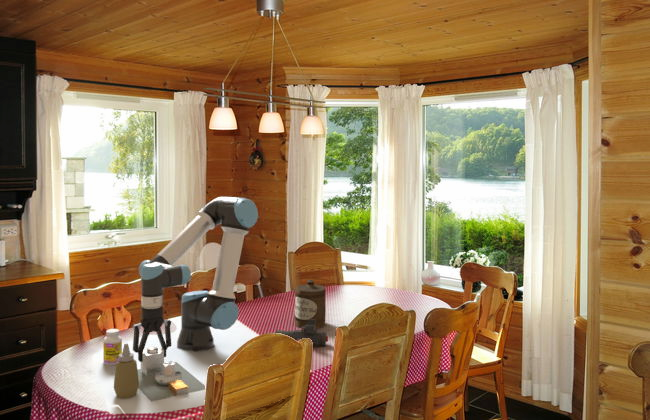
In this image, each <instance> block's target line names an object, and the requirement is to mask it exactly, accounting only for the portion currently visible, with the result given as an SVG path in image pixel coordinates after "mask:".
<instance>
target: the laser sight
mask: <svg viewBox="0 0 650 420" xmlns="http://www.w3.org/2000/svg"><path fill="white" fill-rule="evenodd" d="M316 329H317V328H316V320H312V319H307V325H306V327H304V326H302V328H301V329H294V330H281V329H280V330H279V329H277V330H275V334H276V333H282V334H285V335H288V336H290V337H292V338H294V339H295V340H297V341H299V340H300V339H302V338H310V339H311V340H312V342H313V346H312V347H320V346H323V347H326V346H327V342H329V336H328V335H327V332H326V331H323V332H322V331H321V330H316Z"/></svg>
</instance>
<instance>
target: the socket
mask: <svg viewBox="0 0 650 420" xmlns="http://www.w3.org/2000/svg"><path fill="white" fill-rule="evenodd" d="M159 348H160V347H156V346H155V347H154V346H151V347H148V348H146V349H144V351H143V352H144V353H145V371H143V370H142V369H141V368H140V369H141V372H142V373H143V374H144V375H145V376H146V377H150V376H155V375H156V374H157V373H158V372H161V371H162V363H165V357H164V353H163V352H162V351H161V350H160V349H159Z"/></svg>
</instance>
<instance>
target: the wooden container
mask: <svg viewBox="0 0 650 420" xmlns="http://www.w3.org/2000/svg"><path fill="white" fill-rule="evenodd" d="M306 283H307V284H299V285H297V286H296V287H295V288H294V294H295V298H294V299H295V300H294V302H295V303H294V325H295V326H296V327H298V328H300V329H302V326H304V327H306V325H307V319H312V320H316V329H320V328H323V327H324V326H326V311H327V309H326V308H327V307H326V287H325V286H323V285H320V284H315V281H314V280H313V279H308V280H307V281H306Z"/></svg>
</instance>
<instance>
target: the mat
mask: <svg viewBox="0 0 650 420" xmlns="http://www.w3.org/2000/svg"><path fill="white" fill-rule="evenodd" d="M173 363H174V364H175V370H176V371H179V372H181V381H182V382H183V383H184V384H185V385H187V386H188V393H187V394H190V393H191V394H192V393H195V392H200V391H205V390H206V389H205V386H206V385H205V384H204V383H202V382H201V381H200V380H199V379H197V377H195V376H194V375H193V373H191V372H189V371H188V370H187V369H186V368H184V367H183V366H182V365H181V364H180V363H179V362H177V361H175V362H173ZM137 371H138V379H139V386H138V389H139V390H140V391H141V392H142V393H143V394H144V395H145V396H146V397H147V399H148V400H149V401H150V402H156V401H159V400H163V399H164V400H165V399H168V398H174V397H177V396H176V395H175V394H174V393H173V392H172V391H171V390H170V389H169V388H168V387H163V386H158V385H156V384H155V376H150V377H146V376H145V375H144V374H143V373H142V372H141V368H137ZM182 395H184V394H182ZM182 395H181V396H182Z"/></svg>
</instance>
